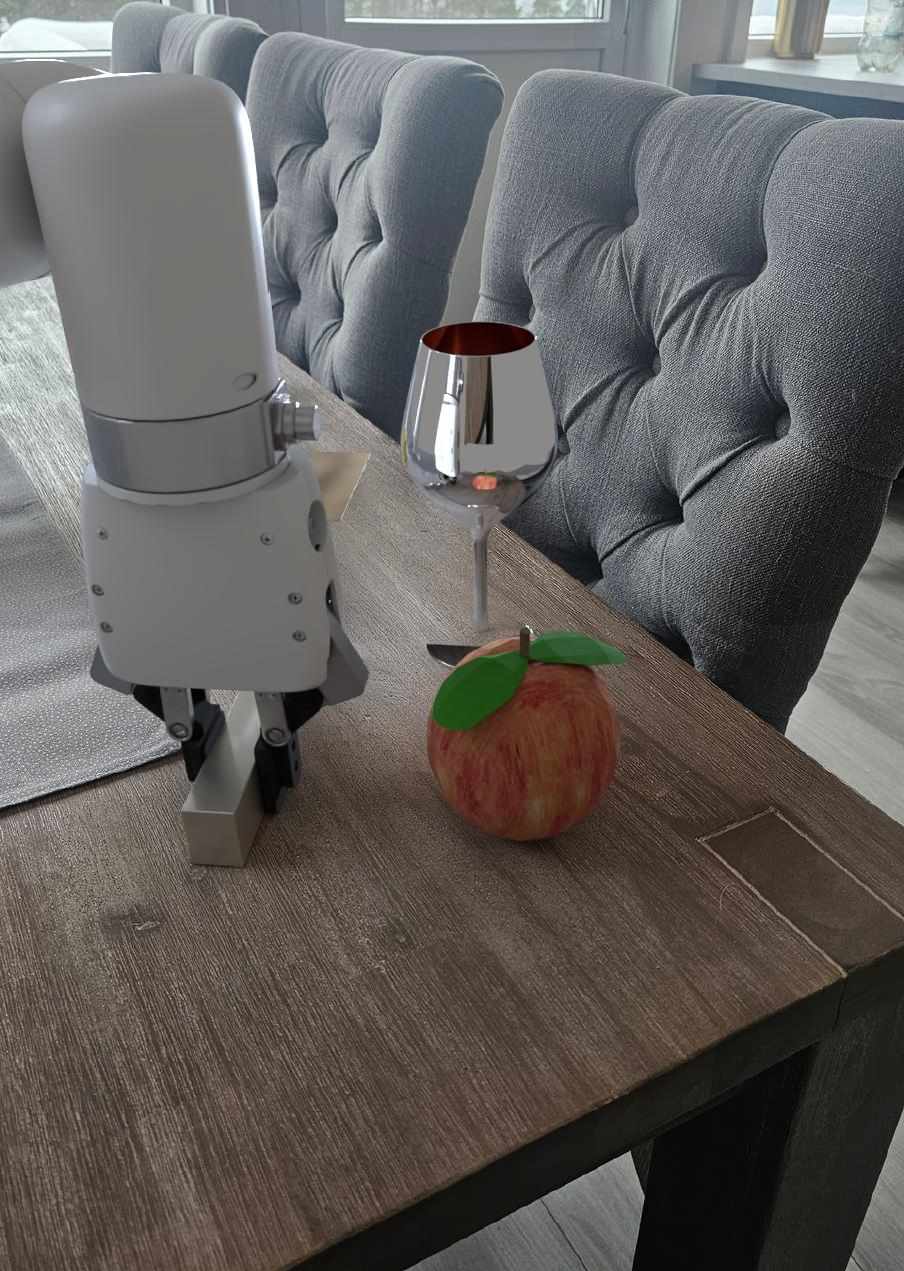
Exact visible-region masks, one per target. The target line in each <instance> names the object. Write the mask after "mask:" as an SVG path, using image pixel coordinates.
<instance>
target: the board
mask: <svg viewBox="0 0 904 1271" xmlns="http://www.w3.org/2000/svg"><path fill="white" fill-rule="evenodd" d="M307 452H308V454H309V456H310V459H311V462H312V464H313V467H314V470H315V473H316V476H317V479H318V482H319V486H320V489H321V493H322V496H323V500H324V504H325V508H326V512H327V516H328V520H329V522H341V521H342V518H343V516H344V515H345V512H346V510H347V507H348V505H349V504H350V501H351V499H352V497H353V494H354V492H355V490H356V488H357V486H358V484H359V482H360V479H361V476H362V475H363V472H364V470H365V468H366V466H367V464H368V462H369V460H370V458H371V456H372V453H371V452H346V451H345V452H343V451H342V452H341V451H337V452H336V451H307Z"/></svg>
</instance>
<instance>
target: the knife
mask: <svg viewBox="0 0 904 1271" xmlns="http://www.w3.org/2000/svg"><path fill="white" fill-rule="evenodd" d="M260 727H261V725H260V720H259V715H258V710H257V705H256V700H255V696H254V691H238V693H237V694H236V697H235V699H234V701H233V703H232V705H231V707H230V709H229V711H228V713H227V715H226V716H225V722H224V724H223V726H222V728H221V730H220V732H219V734H218V736H217V738H216V740H215V742H214V744H213V746H212V748H211V750H210V752H209V754H208V756H207V758H206V760H205V762H204V764H203V766H202V768H201V770H200V772H199V774H198V776H197V778H196V780H195V782H193V784H192V787H191V789H190V791H189V792H188V795H187V796H186V799H185V801H184V803H183V805H182V807H181V809H180V814H181V819H182V823H183V828H184V834H185V838H186V842H187V847H188V852H189V857H190V862H191V864H193V865H206V866H220V867H233V868H244V866H245V864H246V861H247V858H248V856H249V854H250V851H251V849H252V847H253V844H254V841H255V838H256V836H257V833H258V830H259V828H260V827H261V826H260V825H261V823H262V820H263V817H264V816H265V812H266V809H264V807H263V801H262V794H261V788H260V781H259V775H258V769H257V763H256V762H255V757H254V747H255V745H256V742H257V740H258V738H259V735H260Z"/></svg>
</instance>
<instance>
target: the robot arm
mask: <svg viewBox="0 0 904 1271" xmlns="http://www.w3.org/2000/svg"><path fill="white" fill-rule="evenodd" d="M260 201H261V200H260V192H259V185H258V174H257V165H256V158H255V148H254V142H253V135H252V129H251V123H250V120H249V117H248V114H247V111H246V108H245V106H244V104H243V102H242V100H241V98H240V97H239V95H238V94H237V93H236V92H235V90H234V89H232V88H231V87H230V86H228V85H227V84H226V83H225V82H223V81H221V80H218V79H215V78H213V77H210V76H207V75H201V74H192V73H182V72H181V73H180V72H135V73H117V74H116V73H115V74H114V73H110V72H107V71H104V70H100V69H98V68H94V67H91V66H87V65H83V64H80V63H76V62H71V61H66V60H57V59H19V60H11V61H1V62H0V289H3V288H8V287H12V286H15V285H18V284H22V283H25V282H31V281H36V280H40V279H44V278H48V277H51V278H52V284H53V288H54V292H55V296H56V301H57V306H58V310H59V315H60V319H61V324H62V329H63V334H64V337H65V343H66V347H67V351H68V352H67V353H68V356H69V360H70V365H71V369H72V374H73V377H74V382H75V388H76V392H77V397H78V401H79V406H80V409H81V414H82V419H83V425H84V428H85V432H86V433H85V434H86V435H87V436H86V438H87V443H88V446H89V450H90V455H91V460H90V462H89V463H88V464H87V465H86V466H85V468H84V469H83V471H82V477H81V541H82V554H83V556H82V557H83V561H84V562H83V564H84V572H85V584H86V588H87V594H88V604H89V608H90V613H91V618H92V624H93V628H94V634H95V637H96V641H97V646H96V649H95V652H94V656H93V658H92V664H91V666H90V669H89V676H90V678H91V679H92V681H94V682H95V683H96V684H98V685H101V686H104V687H106V688H109V689H111V690H113V691H116V692H119V693H121V694H123V695H126V696H130V695H131V696H133V699H134V700H135V701H136V702H137V703H138V704H140V706H142V707H144V708H145V709H146V710H148V711H149V712H150V713H151V714H153V715H154V716H155V717H157V718H158V719H159V720H161V721H162V722H163V723H164V724H165V730H166V734H167V735H168V736H169V737H170V738H171V739H173V740H175V741H176V742H180V747H181V750H182V756H183V761H184V766H185V772H186V776H187V779H188V781H189V782H191V783H194V782H195V780H196V778H197V776H198V774H199V772H200V770H201V768H202V766H203V764H204V762H205V760H206V758H207V756H208V754H209V752H210V750H211V748H212V746H213V744H214V742H215V740H216V738H217V736H218V734H219V732H220V730H221V728H222V726H223V724H224V722H225V719H226V716H225V711H224V710H222V709H221V704H219V703H211V690H219V691H220V690H221V691H238V692H239V691H254V696H255V700H256V705H257V710H258V715H259V720H260V725H261V727H260V735H259V738H258V740H257V742H256V745H255V747H254V757H255V762H256V763H257V769H258V775H259V781H260V788H261V794H262V801H263V807H264V809H266V810H265V812H266V813H271V814H279V813H280V811H281V809H282V806H283V803H284V800H285V797H286V795H287V792H288V789H296V788H297V786H298V784H299V782H300V778H301V774H302V773H301V772H302V759H301V752H300V744H299V736H298V730H299V729H300V728H302V727H303V726H304V725H306V723H308V722H309V721H310V720H311V719H312V718H313V717H314V716H316V715H317V714H318V713H319V712H320V711H321V709H322V708H325V707H327V706H330V707H332V706H335V705H338V704H340V703H344V702H347V701H349V700H353V699H356V698H358V697H360V696H362V695H363V693H364V692H365V689H366V685H367V682H368V680H369V677H370V676H369V674H370V672H369V670H368V668H367V666H366V664H365V662H364V661H363V659H362V658H361V656H360V654H359V652H358V651H357V650H356V648H355V646H354V645H353V643H352V642H351V640H350V638H349V636H348V635H347V634H346V632H345V626H346V614H345V613H346V612H345V604H344V596H343V589H342V582H341V578H340V572H339V565H338V559H337V555H336V554H337V553H336V549H335V543H334V539H333V535H332V530H331V526H330V521H329V520H328V516H327V512H326V508H325V504H324V500H323V496H322V493H321V489H320V486H319V482H318V479H317V476H316V473H315V470H314V467H313V464H312V462H311V459H310V456H309V454H308V452H309V451H308V450H306V449H305V448H304V447H302V446H299V445H298V444H301V441H309V442H310V441H311V442H312V441H313V442H317V441H319V440H320V436H321V429H322V418H321V417H322V416H321V411H320V408H319V406H318V405H301V403H300V402H299V401H292V400H291V396H290V394H289V393H287V392H288V391H287V384H286V383H287V382H286V379H281V378H280V371H279V361H278V360H279V359H278V354H277V353H278V351H277V344H276V343H277V342H276V334H275V333H276V332H275V326H274V325H275V324H274V317H273V316H274V315H273V307H272V298H271V290H270V283H269V273H268V264H267V255H266V248H265V239H264V229H263V228H264V227H263V219H262V211H261V202H260ZM293 444H295V445H293Z"/></svg>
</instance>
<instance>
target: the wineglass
mask: <svg viewBox="0 0 904 1271" xmlns="http://www.w3.org/2000/svg"><path fill="white" fill-rule="evenodd" d="M542 358H543V357H542V355H541V350H540V346H539V343H538V339H537V335H536V334H535V332H533V331H532V330H531V329H529V328H526V327H523V326H520V325H518V324H514V323H507V322H499V321H484V320H483V321H481V320H480V321H461V322H453V323H449V324H444V325H440V326H437V327H434V328H432V329H429V330H427V331H425V333H423V334H422V335H421V337H420V341H419V344H418V348H417V352H416V356H415V361H414V364H413V370H412V374H411V379H410V383H409V387H408V392H407V397H406V403H405V407H404V413H403V417H402V419H403V420H402V424H401V433H400V453H401V458H402V462H403V465H404V468H405V470H406V472H407V474H408V476H409V478H410V479H411V481H412V482H413V484H414V485H415V486H416V487H417V489H418V490H419V491H420V492H421V493H422V494H423V495H424V496H425V497H426V498H427V499H428V500H429V501H431V502H432V503H433V504H434V505H436V506H437V507H439V508H440V509H442V510H443V511H444V512H446V513H448V514H449V515H451V516H452V517H454V518H455V519H456V520H458V522H460V523H461V524H462V525H463V526H465V528H466V529H467V531H468V532H469V533H470V535H471V537H472V564H473V565H472V568H473V571H472V574H473V577H472V578H473V614H472V624H471V629H472V630H473V632H477V633H484V632H485V633H486V632H487V631H489V630H490V628H491V627H490V622H489V608H488V606H489V605H488V539H489V538H488V537H489V535H490V534H491V531H492V530H493V528H494V527H495V526H496V525H497V524H498V523H500V521H501V520H503V519H504V518H505V517H507V516H509V515H510V514H511V513H513V512H514V511H516V510H517V509H518V508H519V507H521V506H522V505H523V504H525V503H526V502H528V501H529V500H530V499H531V498H532V497H533V496H534V495H535V494H537V493H538V491H539V490H540V489H541V488H542V486H543V485H544V484H545V482H546V481H547V479H548V478H549V476H550V475H551V473H552V471H553V469H554V466H555V464H556V460H557V456H558V448H559V436H558V435H559V434H558V426H557V419H556V415H555V409H554V405H553V400H552V396H551V391H550V386H549V383H548V378H547V374H546V370H545V367H544V362H543V359H542ZM525 628H528V629H529V630H530V637H534V638H536V637H535V634H534V632H533V631H532V629H531V628H530V627H529V626H528V624H526V625H525ZM481 647H483V646H477V645H457V644H456V645H455V644H435V643H433V644H432V643H426V650H427V652H428V654H429V655H430V657H431V658H432V659H433V660H434V661H435V662H437V663H438V664H439V665H441V666H443V667H444V668H447V669H449V670H452V669H453V668H454V667H455V666H456V665H457V664H458V663H459V662H460V661H461V660H462V659H463V658H464V657H465V656H466V655H468V654H469V653H471V652H473V651H475V650H477V649H479V648H481Z"/></svg>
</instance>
